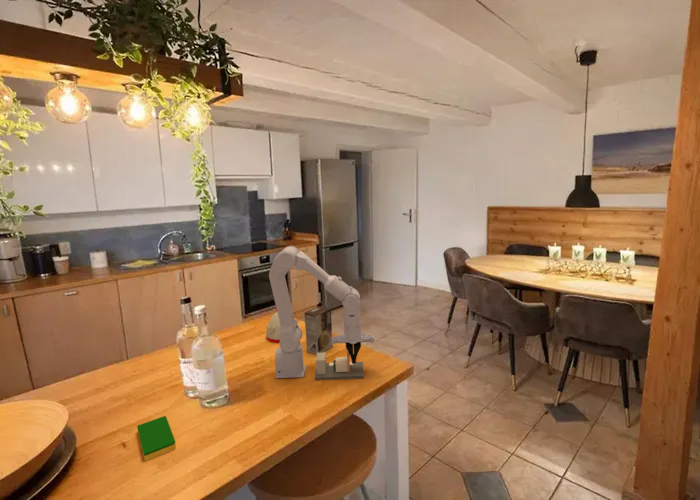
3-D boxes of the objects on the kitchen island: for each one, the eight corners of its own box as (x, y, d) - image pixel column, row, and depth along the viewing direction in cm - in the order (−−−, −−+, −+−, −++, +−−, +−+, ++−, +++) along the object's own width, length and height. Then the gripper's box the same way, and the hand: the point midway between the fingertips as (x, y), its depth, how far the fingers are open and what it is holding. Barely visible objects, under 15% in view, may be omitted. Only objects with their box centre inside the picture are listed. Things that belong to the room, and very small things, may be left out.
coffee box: (321, 343, 153) (319, 305, 151) (333, 346, 150) (331, 308, 147) (306, 351, 146) (303, 312, 143) (318, 355, 142) (316, 315, 140)
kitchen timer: (277, 346, 152) (274, 311, 149) (260, 336, 162) (258, 303, 159) (305, 336, 161) (303, 303, 158) (287, 327, 171) (285, 296, 169)
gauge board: (314, 380, 124) (314, 363, 123) (317, 365, 134) (316, 350, 133) (364, 378, 124) (363, 361, 123) (362, 364, 134) (362, 348, 133)
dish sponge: (166, 422, 105) (165, 415, 105) (176, 450, 94) (175, 441, 93) (138, 433, 101) (136, 425, 101) (144, 463, 90) (143, 454, 89)
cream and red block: (333, 373, 126) (332, 358, 125) (334, 362, 133) (333, 348, 132) (350, 372, 126) (349, 358, 125) (349, 361, 133) (349, 348, 132)
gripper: (330, 330, 122) (332, 368, 125) (374, 328, 122) (375, 366, 125) (331, 322, 129) (333, 358, 132) (373, 320, 129) (374, 357, 132)
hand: (353, 362), depth 129 cm, fingers closed
